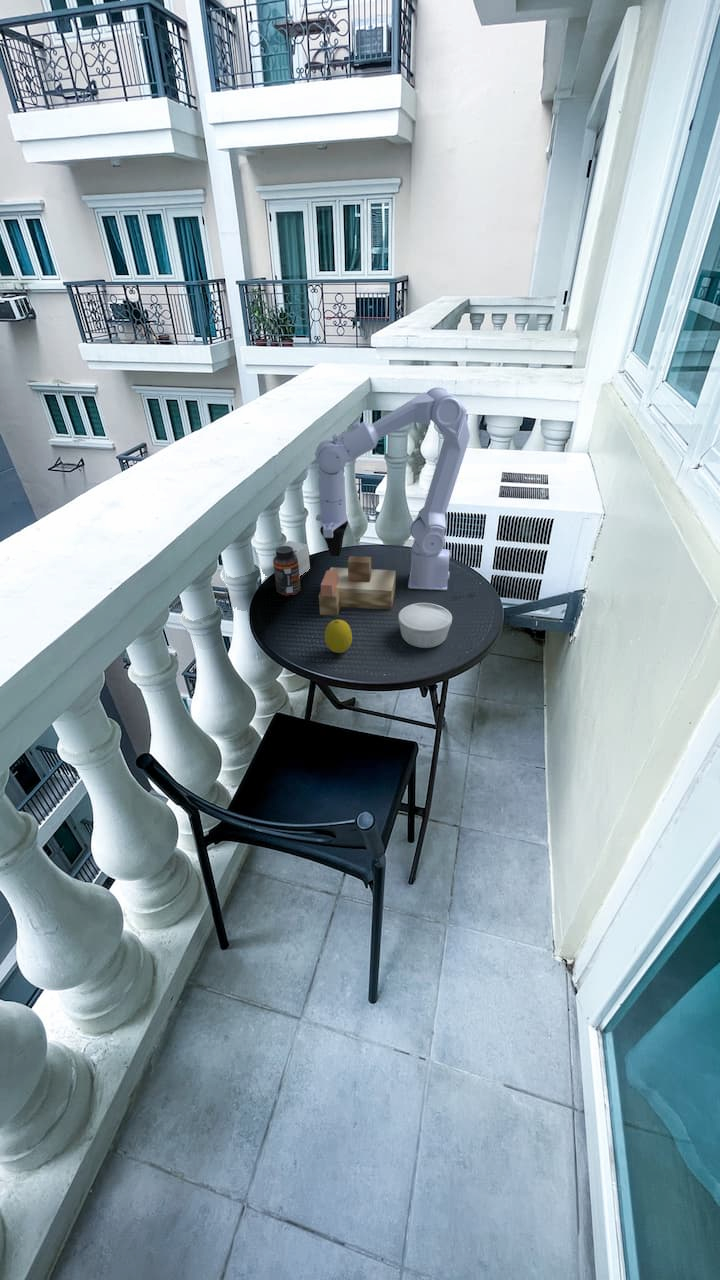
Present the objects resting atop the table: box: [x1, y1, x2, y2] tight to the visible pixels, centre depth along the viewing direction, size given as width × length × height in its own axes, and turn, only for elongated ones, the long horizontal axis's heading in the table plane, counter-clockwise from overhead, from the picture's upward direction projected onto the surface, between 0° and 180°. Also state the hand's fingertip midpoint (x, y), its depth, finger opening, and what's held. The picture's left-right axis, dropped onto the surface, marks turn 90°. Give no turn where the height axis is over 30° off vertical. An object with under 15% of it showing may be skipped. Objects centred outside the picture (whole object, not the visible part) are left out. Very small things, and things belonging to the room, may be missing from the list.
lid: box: [329, 555, 397, 595], centre depth 127 cm, size 16×10×6 cm, turn 82°
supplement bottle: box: [272, 545, 301, 597], centre depth 131 cm, size 6×6×11 cm
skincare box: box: [281, 540, 311, 577], centre depth 140 cm, size 6×6×7 cm
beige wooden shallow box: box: [318, 575, 397, 617], centre depth 128 cm, size 16×14×5 cm
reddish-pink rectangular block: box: [320, 569, 338, 597], centre depth 123 cm, size 2×7×3 cm, turn 172°
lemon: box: [324, 619, 353, 654], centre depth 110 cm, size 6×6×8 cm
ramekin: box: [397, 602, 453, 649], centre depth 115 cm, size 11×11×5 cm
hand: (335, 553), depth 128 cm, fingers closed
